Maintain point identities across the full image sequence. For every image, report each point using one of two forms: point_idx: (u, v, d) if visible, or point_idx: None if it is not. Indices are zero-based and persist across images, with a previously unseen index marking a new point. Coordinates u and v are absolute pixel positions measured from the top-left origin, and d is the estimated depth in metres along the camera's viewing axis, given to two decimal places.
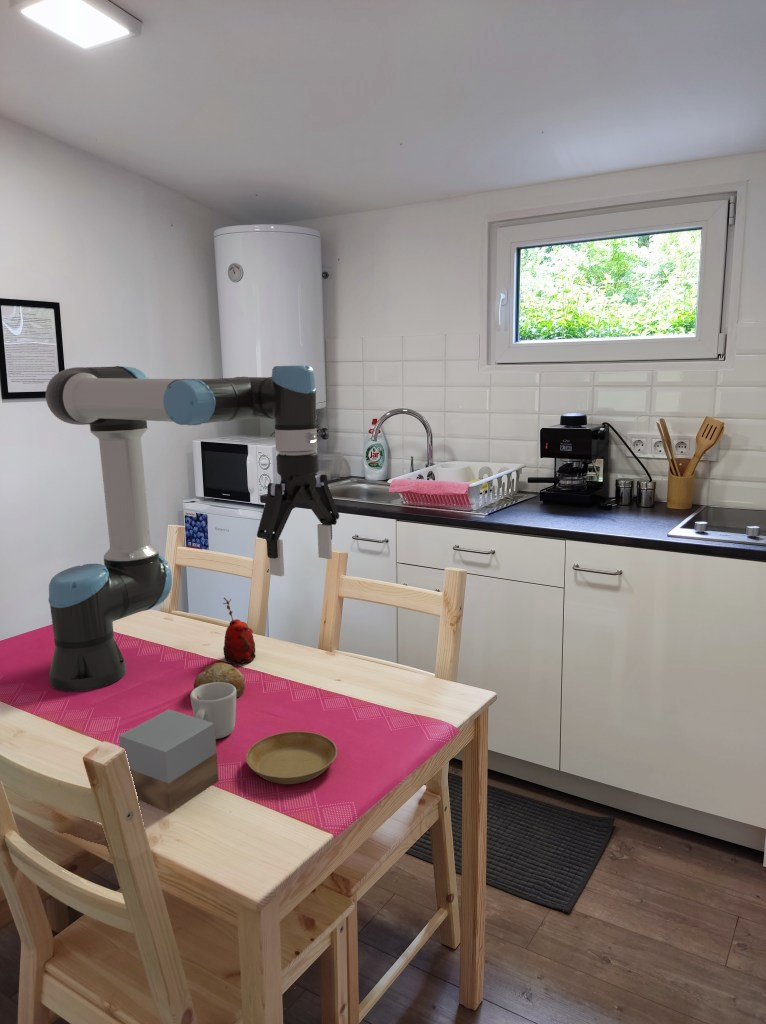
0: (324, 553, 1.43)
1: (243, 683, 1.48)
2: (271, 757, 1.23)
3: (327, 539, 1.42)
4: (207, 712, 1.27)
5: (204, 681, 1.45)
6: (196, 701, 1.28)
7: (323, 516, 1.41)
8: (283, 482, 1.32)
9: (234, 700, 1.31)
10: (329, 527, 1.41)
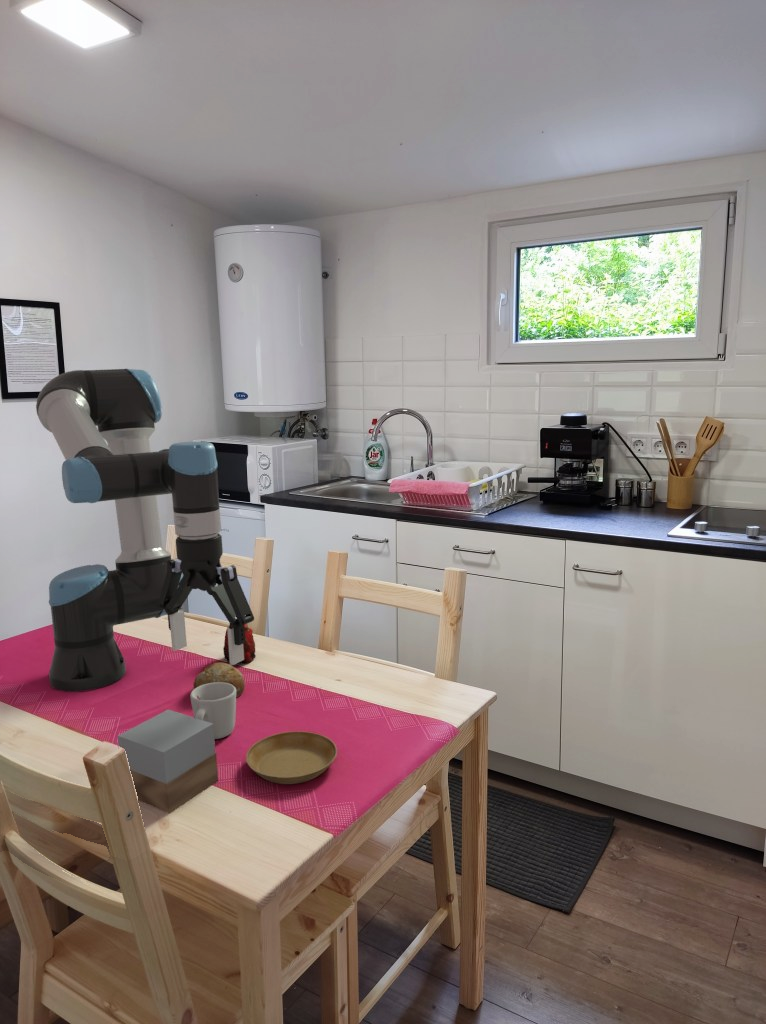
0: None
1: (243, 683, 1.48)
2: (271, 757, 1.23)
3: None
4: (207, 712, 1.27)
5: (204, 681, 1.45)
6: (196, 701, 1.28)
7: None
8: None
9: (234, 700, 1.31)
10: (228, 629, 1.22)
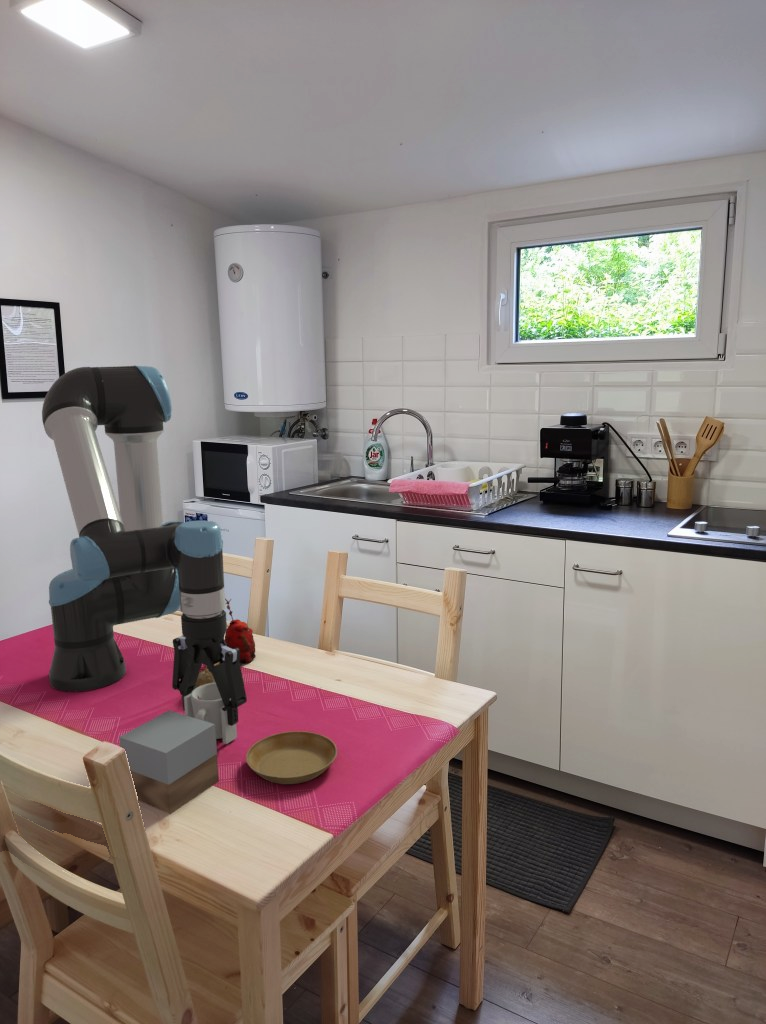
0: None
1: None
2: (271, 757, 1.23)
3: None
4: (207, 712, 1.27)
5: (204, 681, 1.45)
6: (196, 701, 1.28)
7: None
8: None
9: None
10: (222, 710, 1.27)
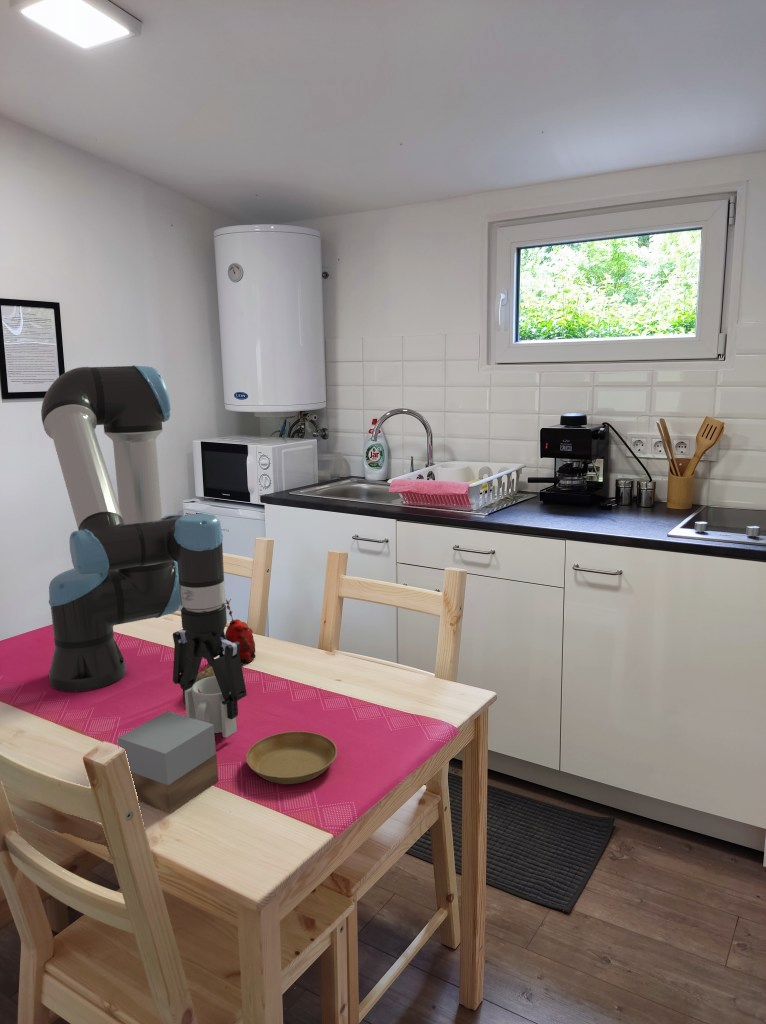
0: None
1: None
2: (271, 757, 1.23)
3: None
4: (208, 706, 1.27)
5: None
6: (197, 695, 1.28)
7: None
8: None
9: None
10: (222, 704, 1.27)
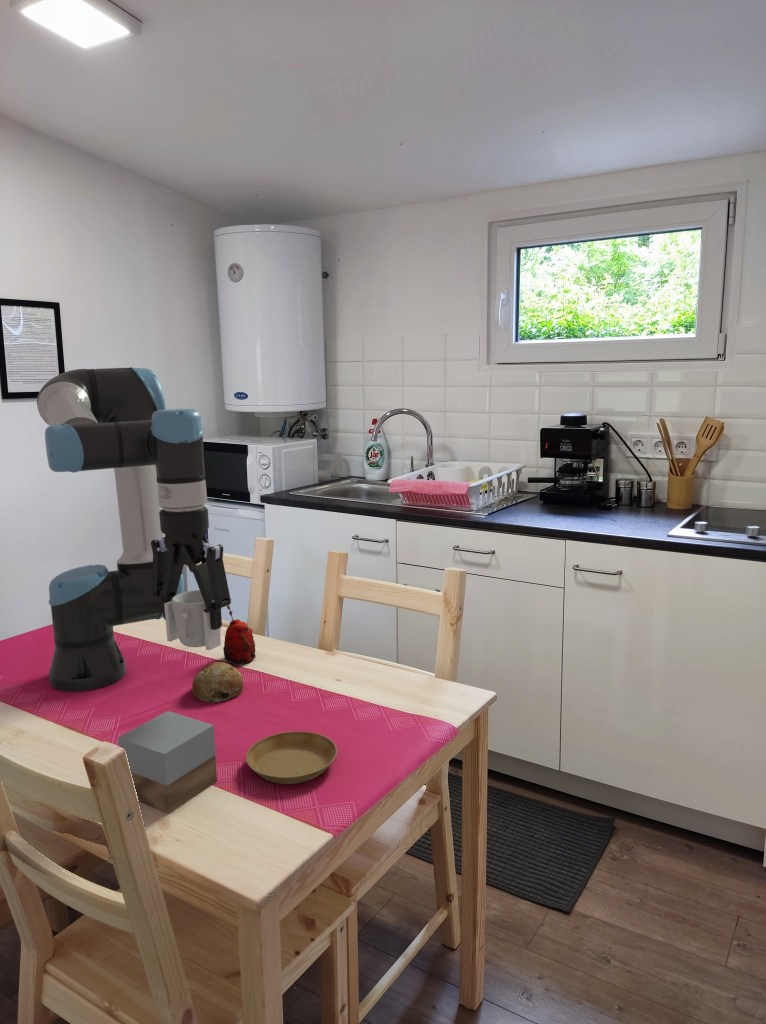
0: None
1: (242, 682, 1.48)
2: (271, 757, 1.23)
3: None
4: (189, 615, 1.18)
5: (203, 680, 1.45)
6: (178, 604, 1.19)
7: None
8: None
9: None
10: (204, 613, 1.18)
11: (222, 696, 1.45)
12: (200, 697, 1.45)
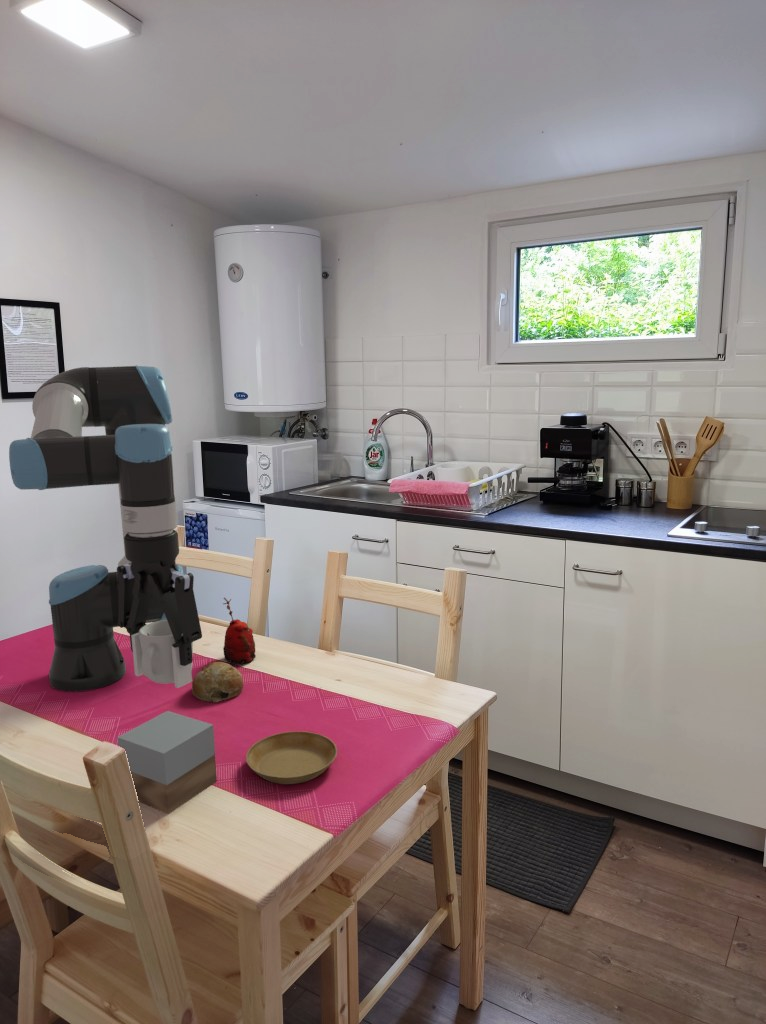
0: None
1: (241, 682, 1.48)
2: (271, 757, 1.23)
3: None
4: (157, 650, 1.08)
5: (203, 680, 1.45)
6: (144, 637, 1.09)
7: None
8: None
9: None
10: (173, 647, 1.08)
11: (222, 696, 1.45)
12: (200, 697, 1.45)
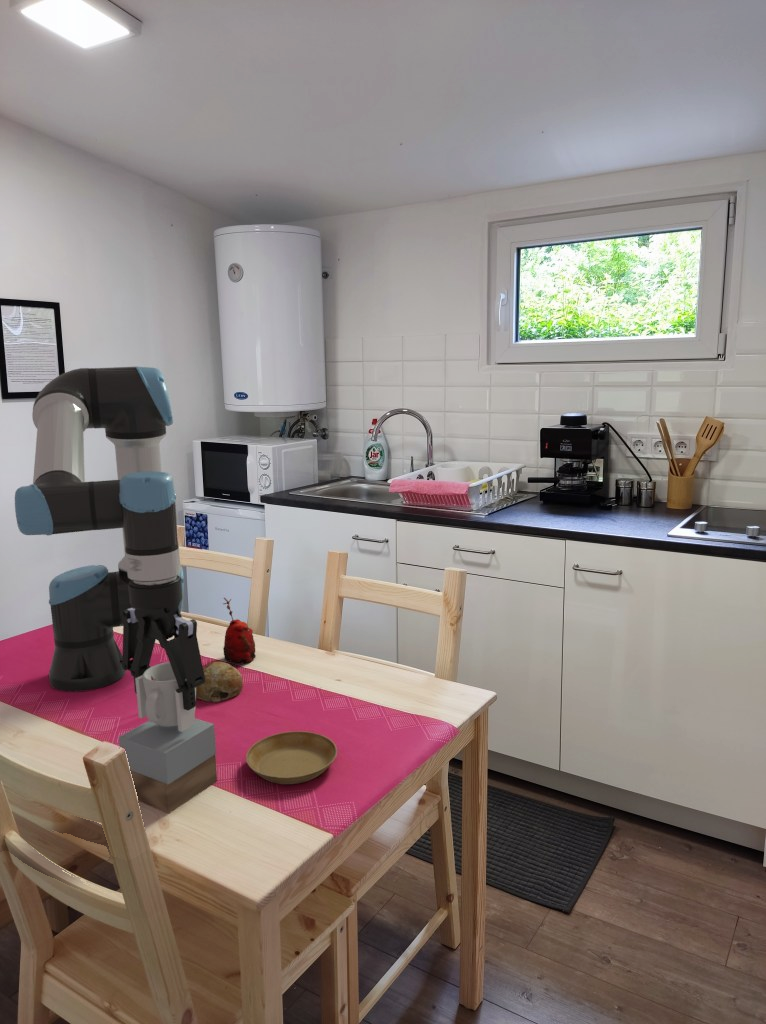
0: None
1: (241, 682, 1.48)
2: (271, 757, 1.23)
3: None
4: (160, 694, 1.09)
5: None
6: (148, 682, 1.10)
7: None
8: None
9: None
10: (176, 692, 1.09)
11: (221, 696, 1.45)
12: (199, 697, 1.45)
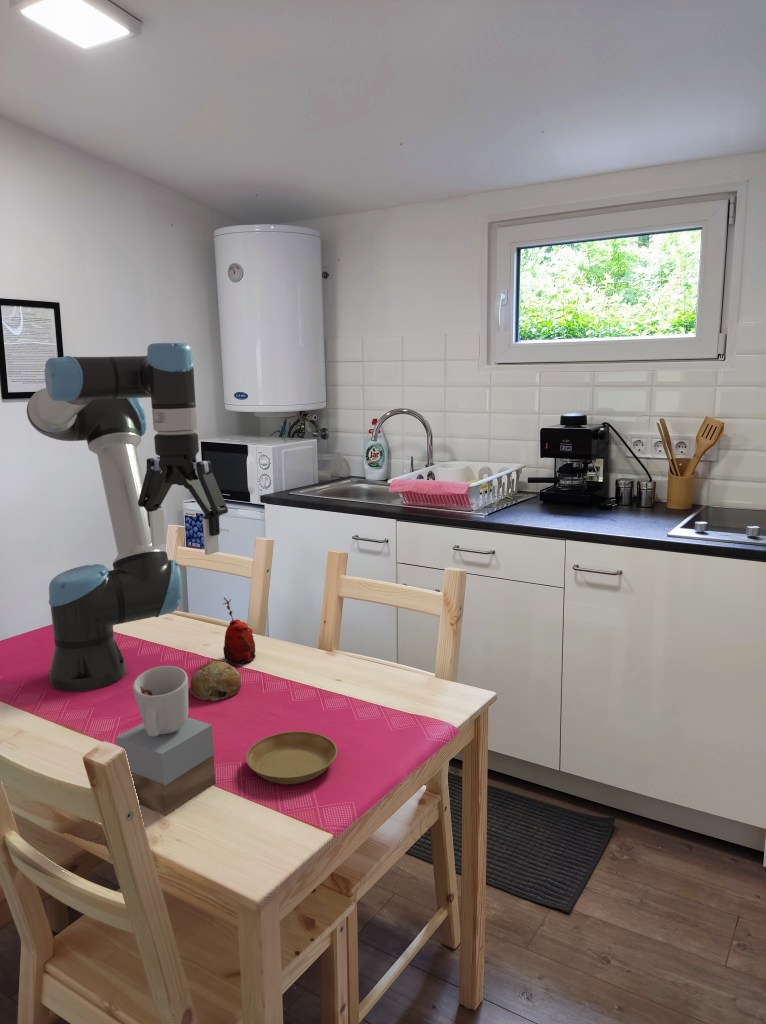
0: None
1: (239, 681, 1.49)
2: (271, 757, 1.23)
3: None
4: (158, 709, 1.08)
5: (201, 679, 1.46)
6: (143, 697, 1.08)
7: None
8: None
9: (187, 688, 1.12)
10: (204, 520, 1.29)
11: (220, 695, 1.46)
12: (198, 696, 1.46)
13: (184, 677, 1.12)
